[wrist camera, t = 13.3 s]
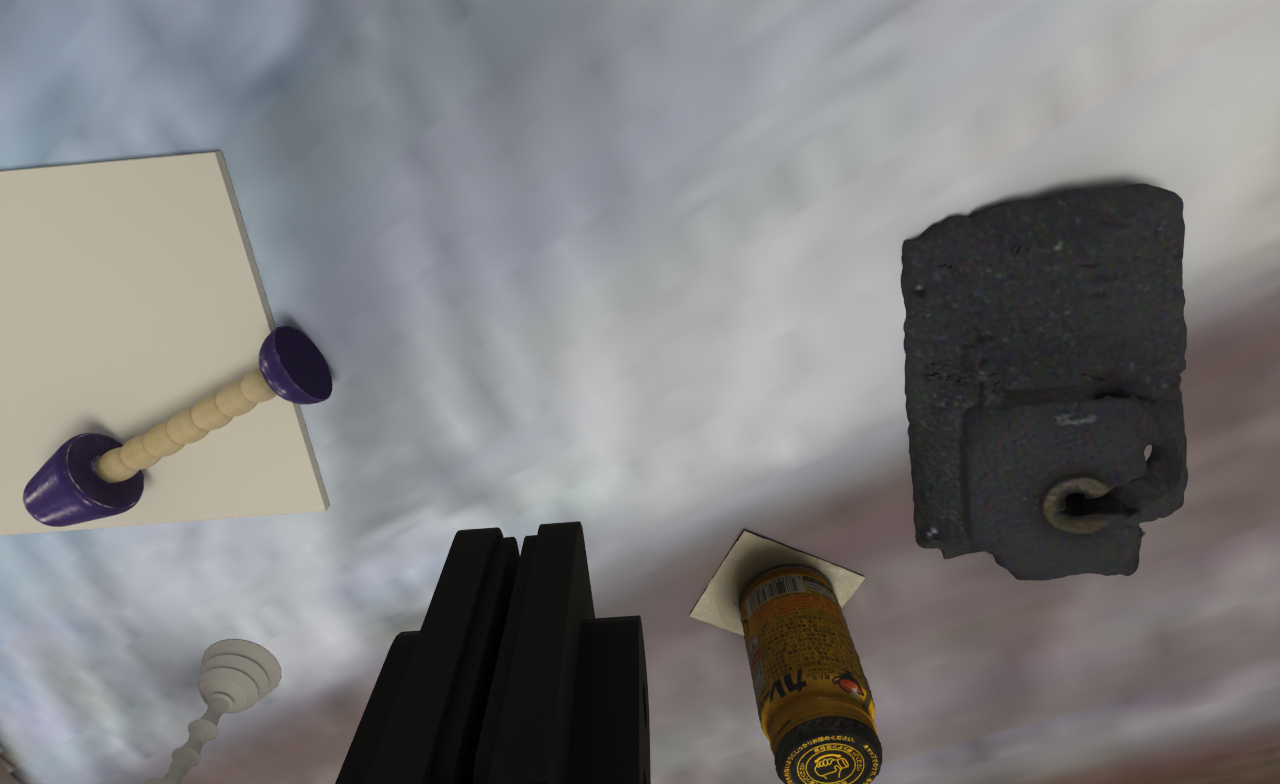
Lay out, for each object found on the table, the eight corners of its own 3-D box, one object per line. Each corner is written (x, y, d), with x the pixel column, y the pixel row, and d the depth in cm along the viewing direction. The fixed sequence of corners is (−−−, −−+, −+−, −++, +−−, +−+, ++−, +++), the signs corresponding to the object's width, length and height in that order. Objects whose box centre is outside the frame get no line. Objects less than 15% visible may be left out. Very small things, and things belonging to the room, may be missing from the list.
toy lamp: (327, 423, 37) (53, 560, 39) (349, 382, 42) (100, 508, 43) (263, 344, 35) (-23, 494, 37) (293, 309, 39) (34, 445, 41)
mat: (-225, 190, 36) (-238, 193, 36) (221, 151, 36) (214, 152, 35) (-35, 532, 45) (-43, 538, 44) (329, 505, 44) (325, 511, 44)
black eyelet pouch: (1202, 152, 37) (1278, 167, 32) (1168, 522, 46) (1224, 573, 41) (884, 220, 38) (916, 243, 34) (913, 567, 47) (941, 620, 43)
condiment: (804, 656, 49) (852, 830, 39) (689, 614, 48) (704, 782, 37) (864, 575, 47) (934, 737, 36) (743, 527, 45) (778, 681, 34)
